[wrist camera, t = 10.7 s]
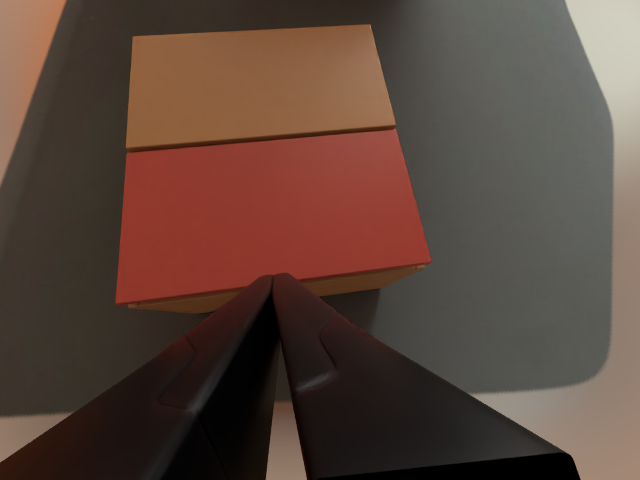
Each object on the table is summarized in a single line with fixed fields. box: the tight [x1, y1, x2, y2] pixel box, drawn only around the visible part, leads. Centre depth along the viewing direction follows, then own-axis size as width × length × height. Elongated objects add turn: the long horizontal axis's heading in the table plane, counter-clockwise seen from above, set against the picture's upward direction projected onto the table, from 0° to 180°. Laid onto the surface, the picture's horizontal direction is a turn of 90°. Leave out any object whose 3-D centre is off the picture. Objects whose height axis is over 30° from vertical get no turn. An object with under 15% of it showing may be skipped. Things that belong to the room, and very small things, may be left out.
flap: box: [116, 130, 431, 305], centre depth 11 cm, size 6×12×1 cm, turn 98°
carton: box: [126, 24, 425, 314], centre depth 16 cm, size 13×12×8 cm
